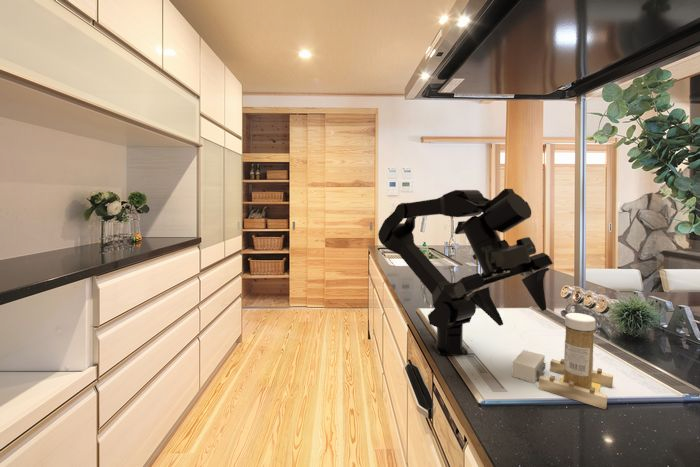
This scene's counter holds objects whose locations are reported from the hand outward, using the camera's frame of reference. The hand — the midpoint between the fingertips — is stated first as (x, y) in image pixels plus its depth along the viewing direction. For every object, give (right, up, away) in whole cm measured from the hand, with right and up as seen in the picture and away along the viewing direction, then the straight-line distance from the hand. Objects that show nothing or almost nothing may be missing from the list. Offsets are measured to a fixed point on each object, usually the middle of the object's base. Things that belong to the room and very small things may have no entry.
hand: (523, 317), depth 65 cm
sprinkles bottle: (+9, -13, -1) cm, 16 cm away
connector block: (+3, -12, +5) cm, 13 cm away
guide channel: (+9, -13, -1) cm, 16 cm away
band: (+10, -13, -1) cm, 16 cm away
